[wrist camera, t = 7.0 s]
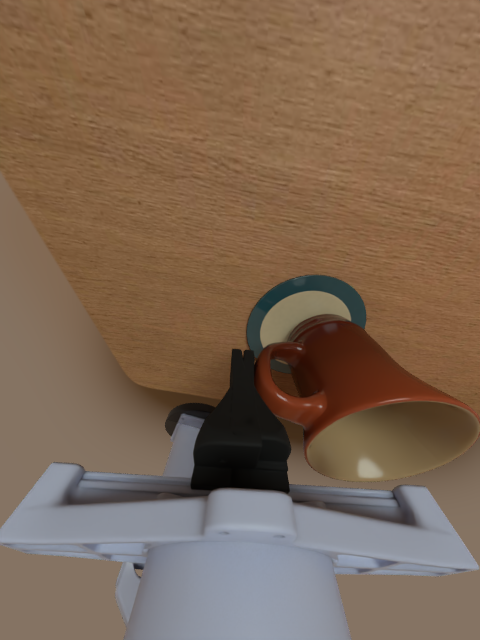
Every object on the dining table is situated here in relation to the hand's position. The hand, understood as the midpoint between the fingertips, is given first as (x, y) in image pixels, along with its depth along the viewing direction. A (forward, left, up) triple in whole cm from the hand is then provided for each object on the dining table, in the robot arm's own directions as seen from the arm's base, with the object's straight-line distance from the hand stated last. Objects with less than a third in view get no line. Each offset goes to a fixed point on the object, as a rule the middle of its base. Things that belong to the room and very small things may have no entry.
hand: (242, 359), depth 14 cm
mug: (+1, -6, -5) cm, 8 cm away
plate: (+2, -6, -5) cm, 8 cm away
